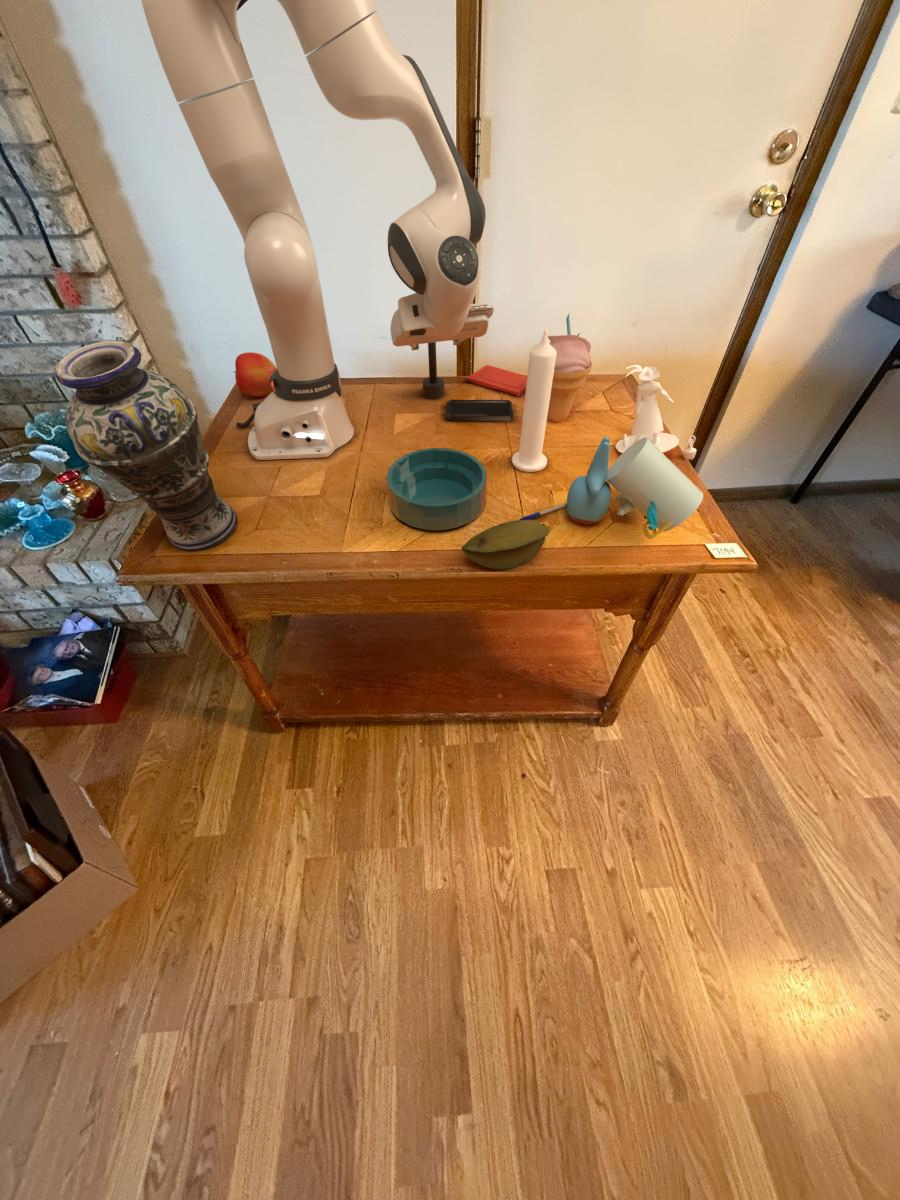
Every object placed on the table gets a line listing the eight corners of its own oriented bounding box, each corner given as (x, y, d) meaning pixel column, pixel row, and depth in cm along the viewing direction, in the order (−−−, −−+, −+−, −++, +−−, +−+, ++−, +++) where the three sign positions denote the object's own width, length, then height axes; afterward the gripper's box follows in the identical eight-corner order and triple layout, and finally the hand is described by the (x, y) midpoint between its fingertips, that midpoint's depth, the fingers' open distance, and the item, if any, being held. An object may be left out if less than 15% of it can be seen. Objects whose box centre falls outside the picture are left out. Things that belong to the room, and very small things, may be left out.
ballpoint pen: (518, 517, 87) (518, 522, 88) (520, 519, 86) (520, 524, 87) (567, 501, 90) (567, 506, 91) (570, 503, 89) (570, 508, 90)
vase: (171, 580, 80) (38, 417, 55) (139, 520, 88) (10, 356, 64) (265, 532, 85) (181, 364, 61) (227, 480, 93) (139, 314, 69)
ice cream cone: (524, 410, 114) (534, 315, 99) (567, 402, 116) (583, 309, 101) (545, 433, 107) (559, 335, 92) (589, 425, 109) (610, 328, 94)
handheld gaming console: (537, 383, 123) (487, 368, 129) (537, 378, 122) (487, 364, 128) (518, 397, 118) (467, 381, 124) (518, 392, 117) (467, 377, 123)
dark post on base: (425, 400, 118) (421, 318, 104) (421, 390, 121) (416, 309, 108) (446, 397, 119) (445, 315, 105) (441, 387, 122) (439, 307, 109)
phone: (447, 399, 115) (511, 399, 115) (447, 404, 116) (511, 404, 116) (446, 416, 110) (513, 416, 110) (446, 421, 111) (512, 421, 111)
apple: (282, 353, 114) (236, 346, 109) (284, 397, 117) (239, 392, 112) (272, 358, 122) (228, 351, 117) (274, 399, 125) (231, 395, 120)
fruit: (531, 588, 77) (535, 557, 72) (460, 569, 80) (458, 539, 75) (550, 541, 84) (554, 510, 79) (483, 526, 87) (483, 496, 82)
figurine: (692, 447, 104) (701, 345, 93) (700, 472, 95) (710, 361, 84) (615, 455, 109) (614, 358, 98) (614, 478, 100) (613, 375, 89)
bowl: (399, 541, 84) (396, 513, 80) (383, 482, 96) (379, 455, 91) (497, 524, 87) (499, 496, 83) (470, 469, 99) (470, 442, 94)
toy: (629, 429, 80) (602, 505, 91) (585, 422, 81) (564, 498, 92) (630, 460, 73) (601, 539, 84) (582, 452, 74) (560, 531, 85)
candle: (517, 474, 97) (532, 340, 78) (507, 455, 102) (519, 324, 83) (551, 469, 98) (574, 336, 79) (540, 451, 103) (559, 320, 84)
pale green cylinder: (580, 515, 80) (638, 568, 82) (636, 472, 71) (699, 532, 73) (605, 457, 93) (654, 505, 95) (655, 414, 84) (708, 467, 86)
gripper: (493, 288, 97) (477, 324, 110) (390, 299, 94) (387, 334, 107) (498, 321, 97) (482, 353, 111) (396, 333, 94) (393, 364, 108)
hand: (435, 344), depth 109 cm, fingers open, 8 cm apart
